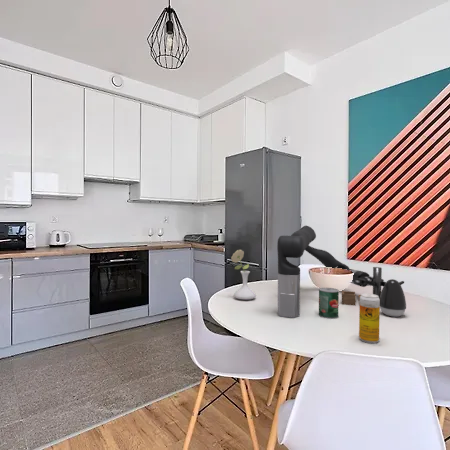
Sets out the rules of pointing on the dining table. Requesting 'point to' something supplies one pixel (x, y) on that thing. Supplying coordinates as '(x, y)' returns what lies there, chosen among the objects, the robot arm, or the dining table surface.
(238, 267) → the flower in vase
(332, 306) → the canned tomato
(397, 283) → the pump dispenser
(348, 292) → the socket
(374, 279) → the copper and grey mallet
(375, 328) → the beer can
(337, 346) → the dining table surface
